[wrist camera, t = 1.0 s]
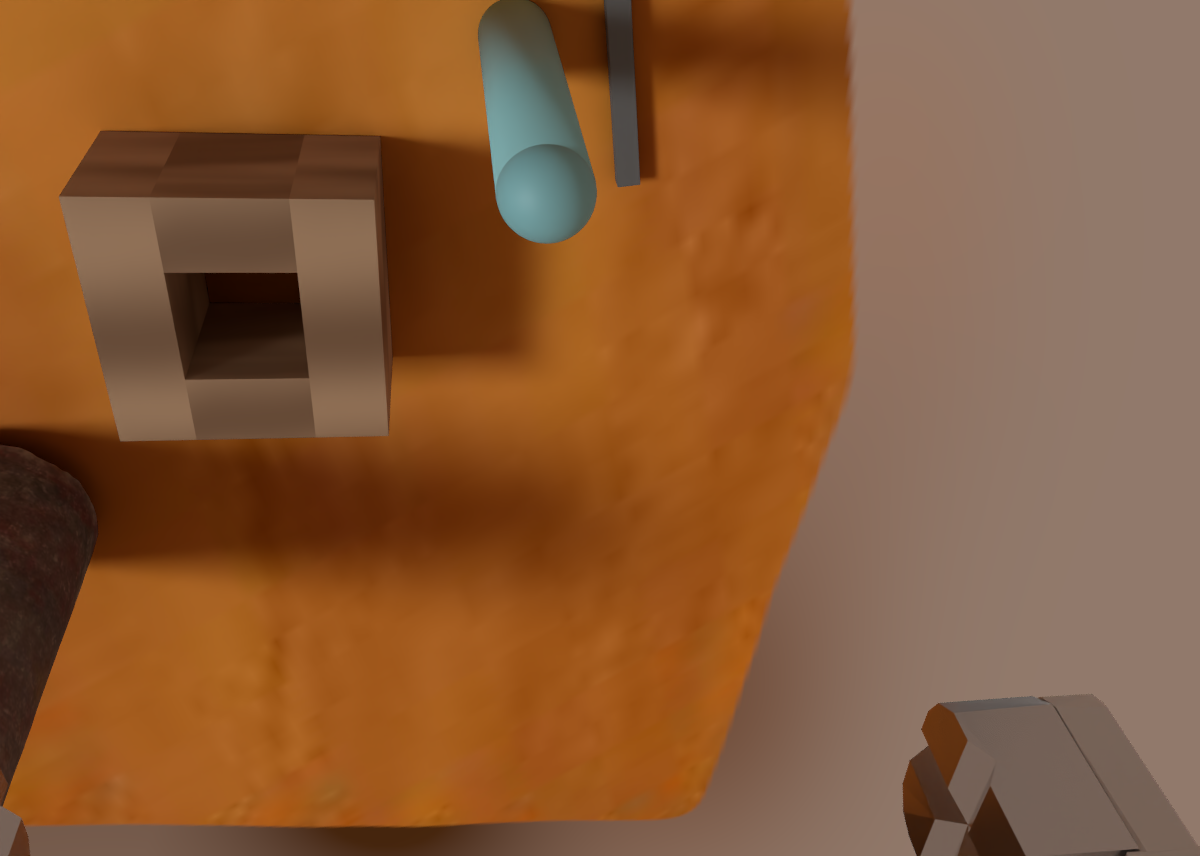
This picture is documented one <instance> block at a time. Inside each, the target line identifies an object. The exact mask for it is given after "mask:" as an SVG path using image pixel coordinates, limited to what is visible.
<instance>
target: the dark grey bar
mask: <svg viewBox="0 0 1200 856" xmlns="http://www.w3.org/2000/svg"><path fill="white" fill-rule="evenodd" d="M604 8H605V24H606V39H607V55H608V70H609V86H610V101H611V117H612V132H613V148H614V163H615V179H616V183H617V186H618V187H624V186H632V185H640V171H639V151H638V130H637V110H636V90H635V70H634V50H633V29H632V9H631V0H604Z"/></svg>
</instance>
